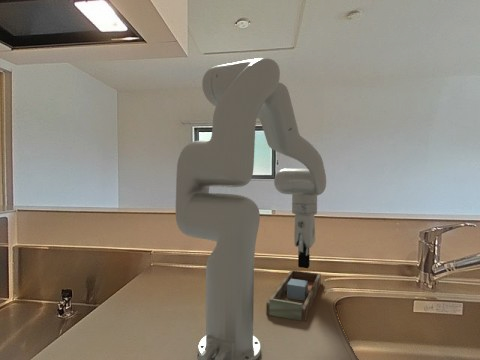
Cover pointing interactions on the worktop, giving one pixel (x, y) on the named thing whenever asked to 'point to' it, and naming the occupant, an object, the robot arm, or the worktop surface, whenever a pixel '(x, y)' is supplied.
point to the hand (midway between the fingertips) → (303, 266)
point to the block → (297, 289)
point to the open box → (293, 308)
